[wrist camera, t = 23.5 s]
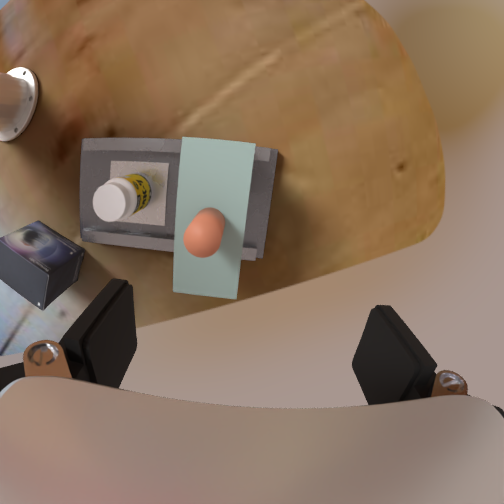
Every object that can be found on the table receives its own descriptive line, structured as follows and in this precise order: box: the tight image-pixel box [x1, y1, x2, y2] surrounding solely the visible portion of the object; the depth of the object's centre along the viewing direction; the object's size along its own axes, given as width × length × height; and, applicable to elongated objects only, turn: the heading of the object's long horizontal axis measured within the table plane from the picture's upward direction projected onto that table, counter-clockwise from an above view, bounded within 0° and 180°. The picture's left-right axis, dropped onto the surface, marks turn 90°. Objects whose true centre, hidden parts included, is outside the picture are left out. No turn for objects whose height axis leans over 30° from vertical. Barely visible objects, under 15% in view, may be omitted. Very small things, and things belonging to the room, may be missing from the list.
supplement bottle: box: [93, 174, 152, 222], centre depth 31 cm, size 5×5×8 cm
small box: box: [0, 221, 85, 311], centre depth 34 cm, size 11×6×10 cm, turn 61°
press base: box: [80, 138, 278, 261], centre depth 35 cm, size 26×14×3 cm, turn 83°
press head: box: [173, 137, 256, 299], centre depth 27 cm, size 6×14×15 cm, turn 173°
